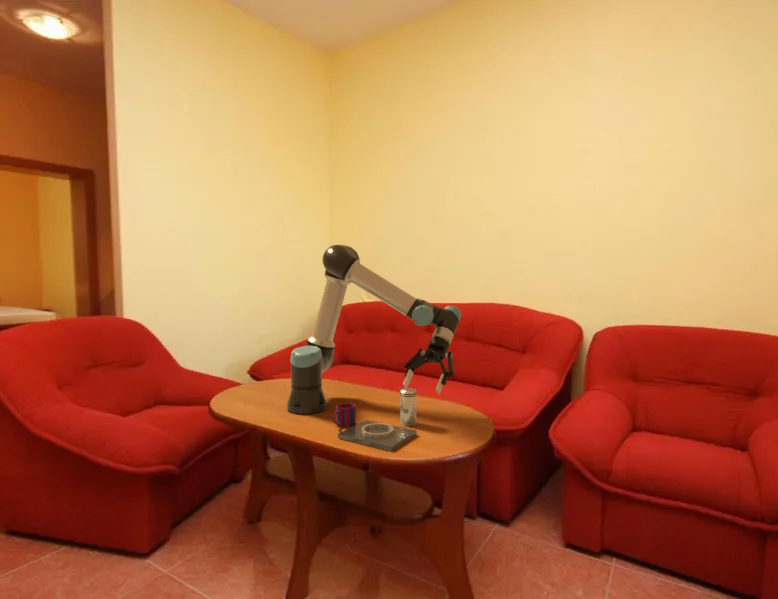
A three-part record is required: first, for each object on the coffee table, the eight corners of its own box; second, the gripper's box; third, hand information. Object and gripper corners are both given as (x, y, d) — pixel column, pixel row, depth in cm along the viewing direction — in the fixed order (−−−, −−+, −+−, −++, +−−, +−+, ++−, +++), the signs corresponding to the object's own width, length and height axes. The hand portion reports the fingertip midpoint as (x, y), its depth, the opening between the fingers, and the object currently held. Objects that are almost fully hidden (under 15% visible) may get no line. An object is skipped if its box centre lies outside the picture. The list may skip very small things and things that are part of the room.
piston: (397, 422, 166) (397, 388, 165) (412, 420, 168) (412, 387, 167) (403, 427, 161) (403, 393, 160) (419, 425, 163) (419, 391, 162)
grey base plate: (337, 438, 151) (337, 430, 150) (366, 424, 164) (366, 416, 164) (391, 451, 140) (391, 442, 140) (416, 435, 154) (416, 426, 153)
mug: (359, 424, 164) (359, 404, 164) (339, 432, 156) (339, 412, 156) (345, 420, 168) (345, 401, 168) (325, 427, 161) (325, 408, 160)
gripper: (473, 350, 175) (455, 399, 164) (416, 344, 189) (396, 389, 178) (467, 338, 170) (448, 388, 159) (409, 332, 185) (387, 378, 173)
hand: (420, 388), depth 169 cm, fingers open, 13 cm apart
